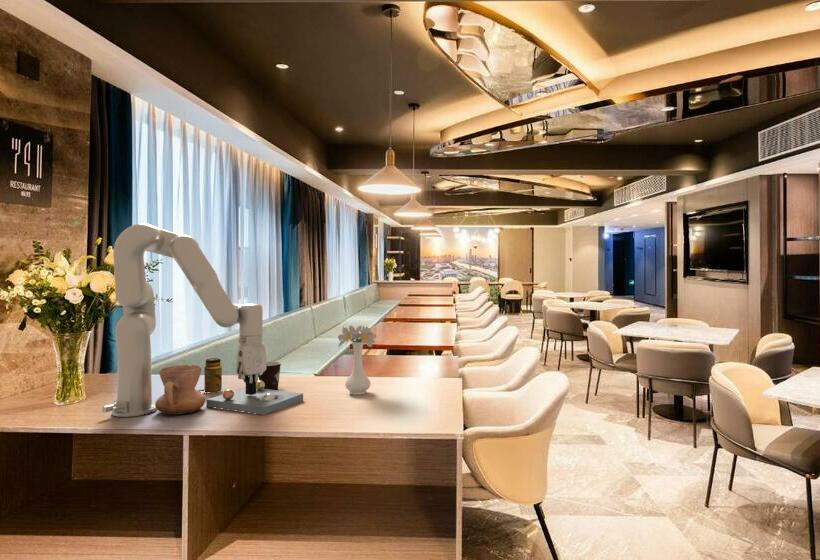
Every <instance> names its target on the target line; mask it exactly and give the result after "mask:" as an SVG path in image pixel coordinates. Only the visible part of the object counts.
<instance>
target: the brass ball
mask: <svg viewBox="0 0 820 560" xmlns="http://www.w3.org/2000/svg"><path fill="white" fill-rule="evenodd" d="M264 387H265V383H264V382H263V381H261V380H259V379H258V381H257V382H256V389H257V390H262V389H264Z"/></svg>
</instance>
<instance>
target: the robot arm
mask: <svg viewBox="0 0 820 560" xmlns="http://www.w3.org/2000/svg"><path fill="white" fill-rule="evenodd" d="M145 252H150V253H153V254H156V255H161V256H164V257H168V258H172V259H174V261H175V262H176V264H177V266H179V269H181V271H182V273H183V274H184V275H185V277H186V279H187V280H188V282H189V284H190V285H191V286H192V289H193V290H194V291H195V293H196V294H197V296H198V297H199V299H200V300H201V302H202V304H203V305H204V307H205V309H206V310H207V312H208V313H209V316H210V317H212V319H213V321H214V322H215V324H217V325H218V326H219V327H221V328H226V329H227V328H231V327H233V326H235V325H238V328H239V333H238V334H239V335H238V336H239V337H238V340H237V341H238V346H237V353H236V362H235V366H236V368H235V370H236V374H237V375H238V376H237V379H238V380H243V383H245V388H246V394H248V395H254V394H256V382H257V381H259V376H260V375H262V374H263V372H264V371H265V370H266V362H267V354H266V353H267V352H266V347H265V344H264V343H265V342H263V339H264V338H263V333H264V332H263V331H264V330H263V311H264V310H263V306H262V305H261V304H259V303H244V304H243V303H242V304H240V303H239V304H238V303H233V302H232V301H231V299H230V298H229V296H228V294H227V293H226V292H225V289H224V288H223V286H222V284H221V281H220V280H219V276H218V274H217V273H216V271H215V269H214V268H213V266H212V264H211V263H210V262H209V260H208V258H207V257H206V256H205V254H204V252H203V250H202V249H201V248H200V246H199V243H198V242H197V240H196V239H195V238H194V237H192V236H190V235H189V234H188V235H187V234H179V233H177V232H172V231H169V230H166V229H162V228H159V227H158V226H157V227H156V226H154V225H152V224H149V223H147V222H146V223H144V222H141V223H140V222H139V223H135V224H132V225H131V226H130V225H129V227H127V228H126V229H124V230H122V232H120V233H119V235H118V236H117V238H116V240H115V243H114V246H113V253H112V255H113V268H114V269H113V270H114V271H113V272H114V274H113V275H114V288H115V289H114V290H115V291H114V292H115V294H114V295H115V299H116V301H117V303H118V304H119V305H120V306H121V307H122V310H123V311H122V312H123V316H122V317H120V319H119V320H118V321H117V323H116V325H115V331H114V335H115V345H116V366H117V371H116V376H117V377H116V378H117V381H116V382H117V383H116V384H117V385H116V386H117V399H114V400H113V401H114V402H113V403H112V404H109V405H104V406H102V408H101V410H102V413H108V412H111V414H112V416H114V417H118V418H129V417H132V418H133V417H139V416H144V414H145V415H149V414H152V413H154V412H156V411H158V410H157V409H156V406H155V403H152V402H153V401H152V399H153V398H152V397H153V396H152V393H153V392H152V389H153V388H152V387H153V384H152V382H153V381H152V379H153V378H152V347H151V346H152V345H151V335H152V334H153V333H154V332H155V329H156V326H157V325H156V324H157V320H156V308H155V293H154V290H153V287H152V285H151V284H150V283H149V282H148V281H147V280H146V271H145V270H146V266H145V260H144V258H145V257H144V256H145ZM155 410H156V411H155ZM151 412H152V413H151ZM148 413H149V414H148Z"/></svg>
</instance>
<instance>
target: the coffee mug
mask: <svg viewBox="0 0 820 560" xmlns="http://www.w3.org/2000/svg"><path fill="white" fill-rule="evenodd" d="M281 365H282V363H281V362H280V361H266V370H265V371H264V372H263V374H262V375H260V376H259V377H258V381H259V380H261V381H263V382H264V383H265V387H264V389H270V390H278V391H279V384H280V383H279V382H280V373H281Z"/></svg>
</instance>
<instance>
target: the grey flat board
mask: <svg viewBox="0 0 820 560" xmlns="http://www.w3.org/2000/svg"><path fill="white" fill-rule="evenodd" d="M233 392H234V396H233V398H232V399H230V400H225V399H224V398H223V394H221V395H216V396H214V397H211V398H207V399H206V407H207V406H210V407H216V408H215V409H217V408H223V409H229V410H228V411H230V410H237V411H244V412H250V413H256V414H262V415H261V416H263V415H264V416H266V415H265V414H267V415H269V414H268V413H270V414H272V413H274V412H273V411H275V412H277V411H280V410H283V409H284V407H285V408H288V407H291V406H293V405H295V404H298V403H300V402H303V401H304V393H301V392H294V391H293V392H292V391H284V390H279V389H278V390H270V389H262V390H257V389H256V394H254V395H248V394H246V387H243V388H241V389H238V390H235V391H234V390H233ZM269 393H270V394H273V395H274V397H275V400H263V397H264V395H266V394H269ZM290 405H291V406H290ZM287 406H288V407H287ZM210 407H209V408H210ZM282 408H283V409H282ZM223 409H222V410H223ZM279 409H280V410H279ZM276 410H277V411H276ZM271 412H272V413H271ZM250 413H249V414H250ZM256 414H255V415H256Z"/></svg>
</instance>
